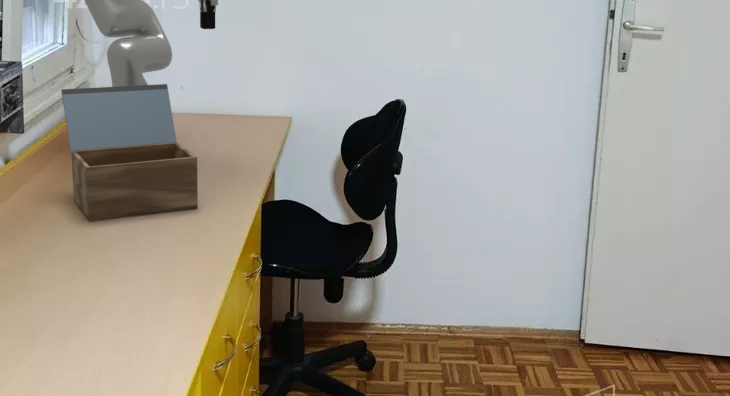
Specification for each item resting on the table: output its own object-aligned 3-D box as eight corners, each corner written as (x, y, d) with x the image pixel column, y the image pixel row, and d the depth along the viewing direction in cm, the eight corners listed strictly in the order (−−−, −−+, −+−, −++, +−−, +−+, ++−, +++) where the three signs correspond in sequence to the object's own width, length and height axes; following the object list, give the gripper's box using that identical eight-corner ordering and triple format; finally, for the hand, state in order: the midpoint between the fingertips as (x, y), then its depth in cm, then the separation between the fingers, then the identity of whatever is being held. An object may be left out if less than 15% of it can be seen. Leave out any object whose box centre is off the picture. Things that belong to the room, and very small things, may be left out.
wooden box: (74, 202, 199) (71, 151, 195) (177, 190, 211) (176, 142, 207) (89, 221, 188) (86, 167, 184) (197, 208, 199) (197, 157, 196)
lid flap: (71, 150, 195) (70, 151, 196) (176, 141, 207) (175, 142, 208) (61, 89, 197) (61, 90, 197) (167, 84, 208) (166, 84, 209)
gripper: (181, -54, 210) (182, 24, 215) (202, -50, 197) (203, 33, 203) (211, -53, 213) (211, 24, 219) (234, -49, 201) (234, 32, 207)
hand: (207, 28), depth 211 cm, fingers closed
